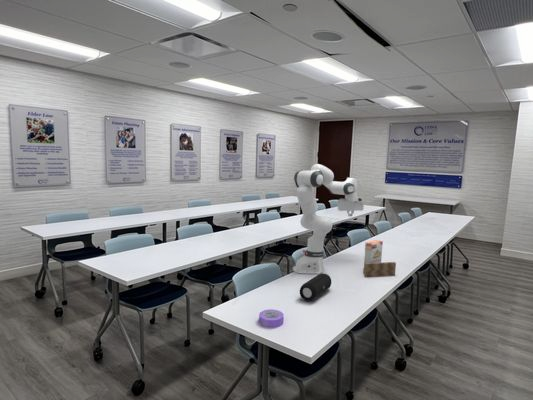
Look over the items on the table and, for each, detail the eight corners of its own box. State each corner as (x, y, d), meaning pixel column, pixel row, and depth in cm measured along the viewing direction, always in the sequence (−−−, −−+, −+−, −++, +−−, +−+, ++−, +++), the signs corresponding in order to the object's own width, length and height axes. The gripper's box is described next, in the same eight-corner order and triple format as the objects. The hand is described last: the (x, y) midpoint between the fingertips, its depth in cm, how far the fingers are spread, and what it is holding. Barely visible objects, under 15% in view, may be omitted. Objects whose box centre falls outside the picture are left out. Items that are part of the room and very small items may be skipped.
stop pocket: (365, 277, 228) (366, 264, 227) (360, 273, 235) (361, 261, 234) (395, 275, 233) (395, 262, 232) (389, 272, 239) (390, 259, 238)
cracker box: (370, 273, 237) (372, 243, 235) (363, 270, 242) (364, 242, 239) (381, 269, 246) (383, 240, 244) (374, 267, 251) (375, 239, 248)
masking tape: (255, 325, 159) (255, 317, 159) (264, 314, 170) (264, 307, 170) (278, 329, 155) (279, 321, 155) (286, 319, 166) (286, 311, 166)
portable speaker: (313, 304, 184) (314, 286, 182) (297, 300, 189) (298, 282, 188) (332, 290, 205) (333, 274, 204) (317, 286, 210) (318, 270, 209)
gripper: (339, 199, 256) (339, 217, 257) (365, 198, 260) (364, 216, 261) (336, 198, 262) (335, 215, 263) (361, 198, 266) (360, 215, 267)
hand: (350, 216), depth 262 cm, fingers closed
